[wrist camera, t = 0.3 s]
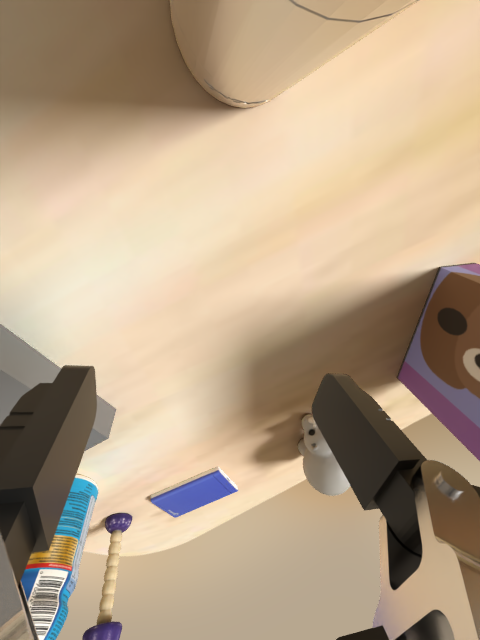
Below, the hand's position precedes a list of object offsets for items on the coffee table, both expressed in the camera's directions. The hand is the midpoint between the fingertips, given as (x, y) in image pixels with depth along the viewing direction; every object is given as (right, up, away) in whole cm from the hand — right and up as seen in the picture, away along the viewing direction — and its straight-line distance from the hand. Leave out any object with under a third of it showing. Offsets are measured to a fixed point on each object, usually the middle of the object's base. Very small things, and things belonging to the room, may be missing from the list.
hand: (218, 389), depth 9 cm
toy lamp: (-20, -32, +36) cm, 52 cm away
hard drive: (-7, -27, +37) cm, 46 cm away
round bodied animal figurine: (+12, -15, +33) cm, 39 cm away
